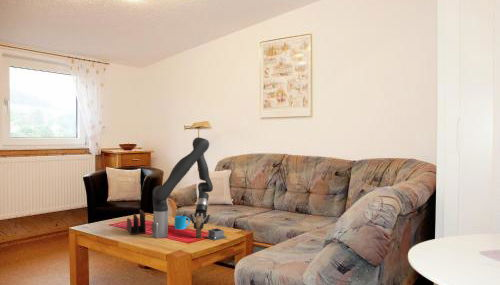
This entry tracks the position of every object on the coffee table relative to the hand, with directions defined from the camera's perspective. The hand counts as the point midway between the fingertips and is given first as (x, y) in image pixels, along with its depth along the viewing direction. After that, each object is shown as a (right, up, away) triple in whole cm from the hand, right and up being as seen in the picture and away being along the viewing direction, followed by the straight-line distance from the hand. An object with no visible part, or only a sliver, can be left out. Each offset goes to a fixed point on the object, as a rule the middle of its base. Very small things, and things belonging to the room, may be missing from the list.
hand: (198, 228), depth 244 cm
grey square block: (+11, -7, +3) cm, 13 cm away
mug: (-15, -6, +29) cm, 33 cm away
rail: (0, -6, +2) cm, 7 cm away
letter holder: (-46, -6, +17) cm, 49 cm away
